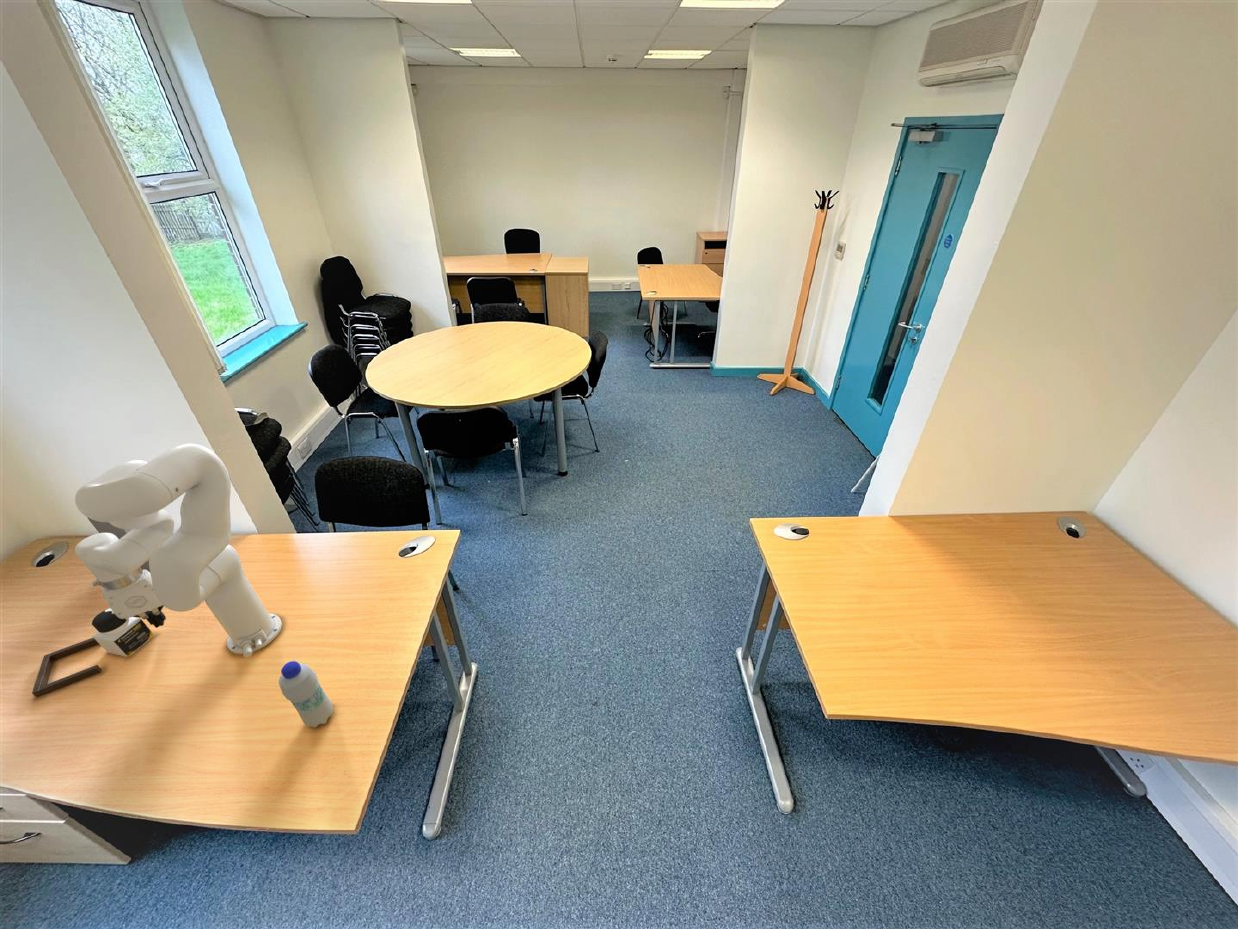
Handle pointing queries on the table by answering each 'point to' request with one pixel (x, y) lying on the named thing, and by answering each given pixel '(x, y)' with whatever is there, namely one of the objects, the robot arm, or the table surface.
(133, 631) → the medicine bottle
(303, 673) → the bottle
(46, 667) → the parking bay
